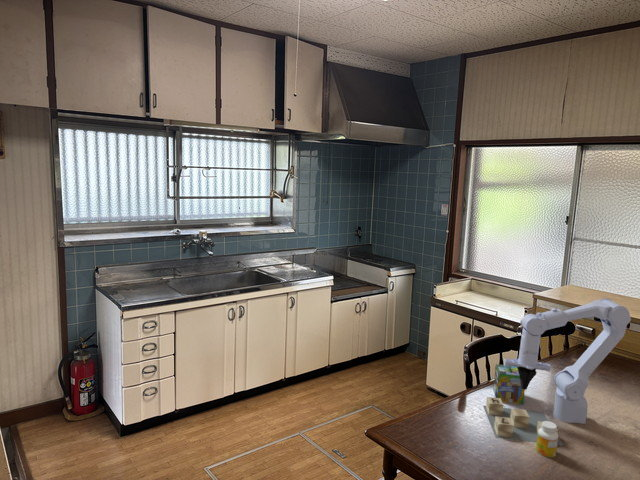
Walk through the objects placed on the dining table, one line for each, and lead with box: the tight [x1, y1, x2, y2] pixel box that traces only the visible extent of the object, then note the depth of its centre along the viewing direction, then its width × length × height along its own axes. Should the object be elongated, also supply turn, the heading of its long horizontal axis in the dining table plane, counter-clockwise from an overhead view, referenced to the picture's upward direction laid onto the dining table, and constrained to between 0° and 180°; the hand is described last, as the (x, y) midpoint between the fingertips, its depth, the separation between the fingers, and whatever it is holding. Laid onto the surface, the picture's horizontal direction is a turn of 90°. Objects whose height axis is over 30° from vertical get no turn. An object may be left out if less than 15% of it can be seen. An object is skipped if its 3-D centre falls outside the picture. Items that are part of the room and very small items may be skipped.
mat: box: [482, 405, 565, 447], centre depth 152 cm, size 20×20×1 cm
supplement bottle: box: [535, 420, 559, 458], centre depth 137 cm, size 5×5×10 cm
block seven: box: [494, 416, 514, 437], centre depth 147 cm, size 4×4×4 cm
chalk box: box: [492, 364, 525, 405], centre depth 170 cm, size 9×9×15 cm
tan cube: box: [537, 421, 559, 435], centre depth 145 cm, size 4×4×4 cm
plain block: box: [510, 408, 529, 428], centre depth 152 cm, size 4×4×4 cm
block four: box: [485, 396, 505, 416], centre depth 159 cm, size 4×4×4 cm
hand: (523, 388), depth 157 cm, fingers closed
